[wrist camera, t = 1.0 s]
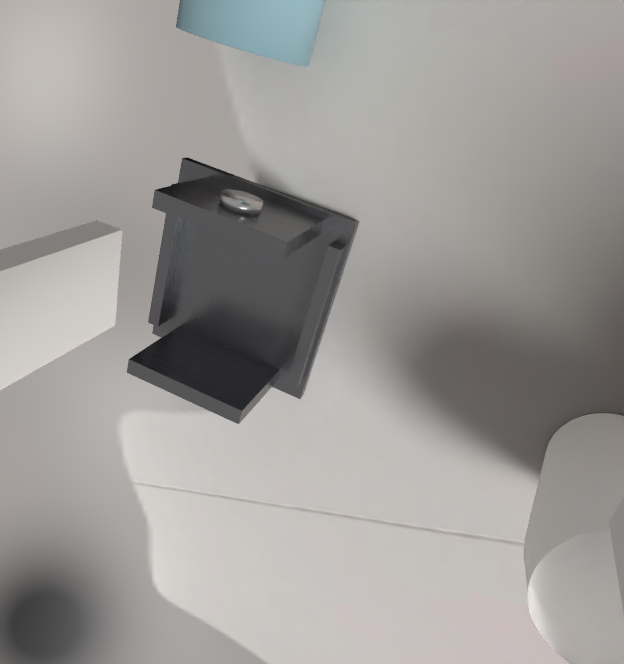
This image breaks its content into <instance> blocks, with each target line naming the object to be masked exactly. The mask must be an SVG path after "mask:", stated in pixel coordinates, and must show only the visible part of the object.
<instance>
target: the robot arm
mask: <svg viewBox="0 0 624 664" xmlns="http://www.w3.org/2000/svg"><path fill="white" fill-rule="evenodd" d="M121 241H122V229H119V228H116V227H113V226H111V225H108V224H105V223H102V222H99V221H94V222H91V223H87V224H84V225H81V226H77V227H74V228H71V229H68V230H64V231H61V232H57V233H54V234H51V235H47V236H44V237H41V238H38V239H34V240H31V241H28V242H24V243H21V244H18V245H14V246H11V247H8V248H4V249H1V250H0V390H1V389H3V388H5V387H6V386H8V385H10V384H12V383H14V382H15V381H17V380H19V379H21V378H23V377H24V376H26V375H28V374H30V373H31V372H33V371H35V370H37V369H38V368H40V367H42V366H44V365H46V364H47V363H49V362H51V361H52V360H54V359H56V358H58V357H60V356H62V355H63V354H65V353H67V352H69V351H70V350H72V349H74V348H76V347H78V346H79V345H81V344H83V343H85V342H86V341H88V340H90V339H92V338H94V337H95V336H97V335H99V334H101V333H102V332H104V331H106V330H108V329H109V328H111V327H113V326H115V319H116V307H117V293H118V280H119V268H120V255H121ZM609 527H610V533H611V540H612V546H613V552H614V558H615V564H616V570H617V576H618V583H619V589H620V595H621V601H622V607H623V613H624V498H623V499H622V501H621V502H620V504H619V506H618V507H617V509H616V511H615V512H614V514H613V515H612V517H611V519H610V520H609Z"/></svg>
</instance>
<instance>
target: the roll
mask: <svg viewBox="0 0 624 664" xmlns="http://www.w3.org/2000/svg"><path fill="white" fill-rule="evenodd" d="M324 3H325V0H180V4H179V11H178V18H177V24H176V27H177V28H179V29H181V30H183V31H186V32H188V33H191V34H194V35H197V36H199V37H202V38H205V39H208V40H211V41H214V42H217V43H220V44H223V45H227V46H230V47H233V48H236V49H240V50H243V51H246V52H250V53H253V54H257V55H260V56H264V57H268V58H271V59H275V60H279V61H283V62H287V63H291V64H296V65H300V66H309V62H310V58H311V54H312V50H313V46H314V42H315V38H316V34H317V30H318V26H319V22H320V18H321V14H322V11H323V7H324Z"/></svg>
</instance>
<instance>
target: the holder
mask: <svg viewBox="0 0 624 664" xmlns="http://www.w3.org/2000/svg"><path fill="white" fill-rule="evenodd" d="M152 208H155V209H157V210H160V211H162V212H165V213H166V218H165V224H164V230H163V237H162V242H161V248H160V255H159V261H158V267H157V273H156V279H155V285H154V291H153V297H152V303H151V309H150V315H149V321H148V322H149V323H151V324H153V325H154V327H153V334H155V335H157V336H160V337H162V338H161V339H159V340H158V341H156V342H155V343H153V344H151V345H150V346H148V347H147V348H145V349H144V350H142V351H141V352H139V353H138V354H136V355H135V356H133V357H132V358H130V359H129V362H128V369H127V373H129V374H131V375H134V376H136V377H138V378H140V379H142V380H144V381H146V382H149V383H151V384H153V385H155V386H157V387H160V388H162V389H164V390H166V391H168V392H170V393H172V394H175V395H177V396H179V397H181V398H183V399H185V400H187V401H190V402H192V403H194V404H196V405H198V406H200V407H203V408H205V409H207V410H209V411H211V412H213V413H216V414H218V415H220V416H222V417H224V418H226V419H229V420H231V421H233V422H235V423H237V424H239V423H240V422H241V421H242V420H243V419H244V417H245V416H246V415H247V414H248V413H249V412H250V411H251V410H252V408H253V407H254V406H255V405H256V404H257V403H258V402H259V401H260V399H261V398H262V397H263V396H264V395H265V394H266V393H267V392H268V390H269V389H270V388H271V387H274V388H276V389H279V390H281V391H283V392H285V393H288V394H290V395H292V396H294V397H297V398H299V399H301V397H302V396H303V394H304V391H305V388H306V385H307V382H308V379H309V375H310V372H311V369H312V366H313V363H314V360H315V357H316V354H317V351H318V348H319V344H320V341H321V338H322V335H323V332H324V329H325V326H326V323H327V320H328V317H329V313H330V310H331V307H332V304H333V301H334V298H335V295H336V292H337V289H338V286H339V283H340V279H341V276H342V273H343V270H344V267H345V264H346V261H347V258H348V255H349V252H350V248H351V245H352V242H353V239H354V236H355V233H356V230H357V227H358V224H359V222H358V221H355V220H353V219H350V218H347V217H345V216H342V215H339V214H337V213H334V212H331V211H329V210H326V209H323V208H321V207H318V206H315V205H313V204H310V203H307V202H305V201H302V200H299V199H297V198H294V197H291V196H289V195H286V194H283V193H281V192H278V191H275V190H273V189H270V188H267V187H265V186H262V185H259V184H257V183H254V182H251V181H249V180H246V179H243V178H241V177H238V176H235V175H233V174H229V173H227V172H225V171H222V170H219V169H216V168H214V167H211V166H208V165H206V164H203V163H200V162H198V161H195V160H192V159H190V158H183V159H182V163H181V169H180V175H179V181H178V183H177V184H172V185H171V186H169V187H165V188H161V189H157V190H155V193H154V199H153V206H152Z"/></svg>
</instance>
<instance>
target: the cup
mask: <svg viewBox="0 0 624 664" xmlns="http://www.w3.org/2000/svg"><path fill="white" fill-rule="evenodd" d="M623 498H624V416H622V415H617V414H610V413H596V414H589V415H584V416H581V417H578V418H576V419H573V420H571V421H569V422H568V423H566V424H564V425H563V426H562V427H560V428H559V429H558V430H557V431H556V432H555V434H554V435H553V436H552V438H551V439H550V441H549V443H548V446H547V450H546V454H545V458H544V462H543V466H542V470H541V474H540V478H539V482H538V486H537V491H536V495H535V499H534V503H533V507H532V511H531V515H530V519H529V524H528V528H527V532H526V536H525V544H524V562H525V569H526V580H527V599H528V607H529V611H530V615H531V618H532V620H533V622H534V624H535V626H536V628H537V630H538V631H539V633H540V634H541V636H542V637H543V638H544V640H545V641H546V642H547V643H548V644H549V645H550V646H551V647H552V648H553V650H555V651H556V652H557V653H558V654H559V655H560V656H562V657H563V658H564V659H566V660H567V661H568V662H570V663H571V664H624V613H623V607H622V601H621V595H620V589H619V583H618V576H617V570H616V564H615V558H614V552H613V546H612V540H611V533H610V527H609V520H610V519H611V517H612V515H613V514H614V512H615V511H616V509H617V507H618V506H619V504H620V502H621V501H622V499H623Z"/></svg>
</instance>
